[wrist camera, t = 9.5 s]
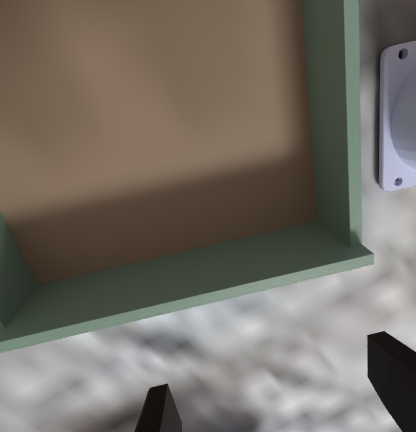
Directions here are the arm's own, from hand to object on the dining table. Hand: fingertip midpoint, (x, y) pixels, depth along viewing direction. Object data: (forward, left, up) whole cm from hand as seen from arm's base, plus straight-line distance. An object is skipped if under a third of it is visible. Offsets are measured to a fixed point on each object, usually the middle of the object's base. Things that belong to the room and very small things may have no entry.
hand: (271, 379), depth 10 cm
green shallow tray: (+3, -9, -9) cm, 13 cm away
